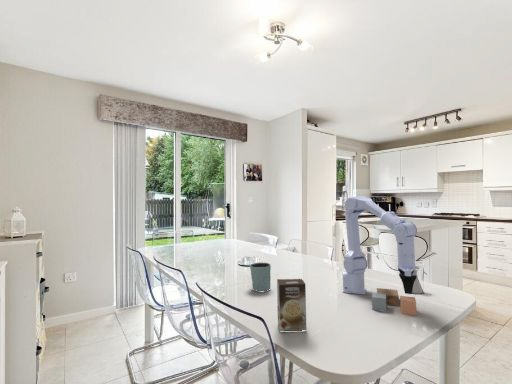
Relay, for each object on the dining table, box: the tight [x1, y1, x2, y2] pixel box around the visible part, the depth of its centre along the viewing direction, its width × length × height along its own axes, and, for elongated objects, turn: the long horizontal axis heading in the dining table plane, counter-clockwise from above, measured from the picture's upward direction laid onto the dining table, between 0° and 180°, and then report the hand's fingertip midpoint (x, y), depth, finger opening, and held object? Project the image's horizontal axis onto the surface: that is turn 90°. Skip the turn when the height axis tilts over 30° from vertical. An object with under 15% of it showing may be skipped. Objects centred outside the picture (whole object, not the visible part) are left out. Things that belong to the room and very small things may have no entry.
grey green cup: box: [249, 262, 272, 292], centre depth 137 cm, size 10×10×12 cm
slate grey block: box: [371, 292, 387, 312], centre depth 110 cm, size 5×5×5 cm
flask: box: [412, 269, 425, 295], centre depth 127 cm, size 7×7×10 cm
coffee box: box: [276, 278, 307, 332], centre depth 96 cm, size 9×6×16 cm
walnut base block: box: [376, 287, 400, 307], centre depth 117 cm, size 8×8×4 cm
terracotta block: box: [399, 295, 417, 316], centre depth 106 cm, size 5×5×5 cm
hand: (407, 290), depth 106 cm, fingers open, 7 cm apart
